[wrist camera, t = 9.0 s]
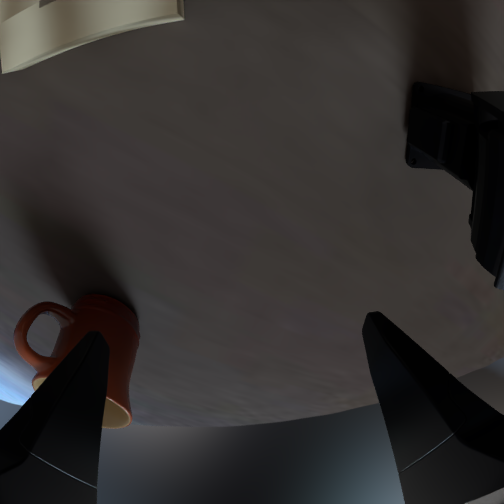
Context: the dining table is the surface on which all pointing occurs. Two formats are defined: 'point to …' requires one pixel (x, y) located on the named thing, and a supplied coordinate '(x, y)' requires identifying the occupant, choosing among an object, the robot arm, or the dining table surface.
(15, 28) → the socket board
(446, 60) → the dining table surface
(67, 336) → the mug
